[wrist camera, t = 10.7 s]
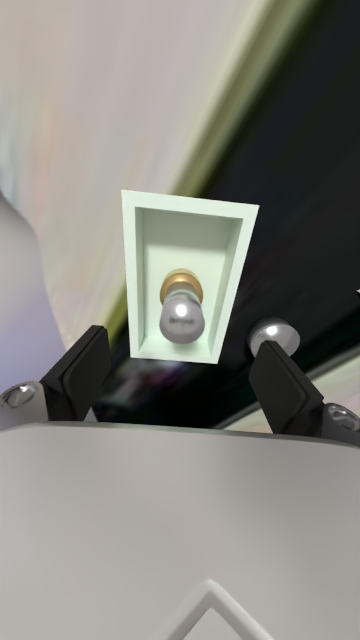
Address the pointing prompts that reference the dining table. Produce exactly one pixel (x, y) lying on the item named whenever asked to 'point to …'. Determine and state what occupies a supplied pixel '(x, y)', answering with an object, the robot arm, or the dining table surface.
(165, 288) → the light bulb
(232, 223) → the bin
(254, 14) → the dining table surface
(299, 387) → the robot arm
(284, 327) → the silver metal dome
